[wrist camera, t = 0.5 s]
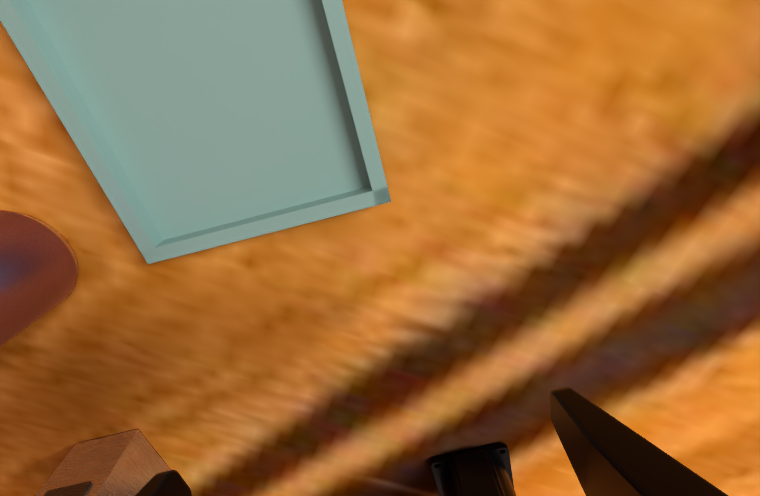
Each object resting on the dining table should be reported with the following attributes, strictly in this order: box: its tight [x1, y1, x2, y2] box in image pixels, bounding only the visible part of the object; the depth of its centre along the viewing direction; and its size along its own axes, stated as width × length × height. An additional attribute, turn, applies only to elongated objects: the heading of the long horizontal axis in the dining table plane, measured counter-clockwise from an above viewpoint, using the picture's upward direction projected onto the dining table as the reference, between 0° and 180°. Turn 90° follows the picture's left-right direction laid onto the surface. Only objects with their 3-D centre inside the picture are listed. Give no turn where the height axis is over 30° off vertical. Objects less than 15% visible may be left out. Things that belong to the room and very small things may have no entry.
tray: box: [0, 0, 391, 264], centre depth 17 cm, size 14×14×2 cm
